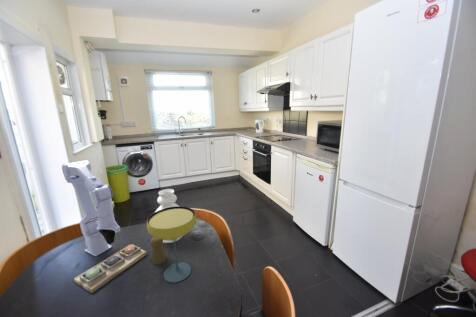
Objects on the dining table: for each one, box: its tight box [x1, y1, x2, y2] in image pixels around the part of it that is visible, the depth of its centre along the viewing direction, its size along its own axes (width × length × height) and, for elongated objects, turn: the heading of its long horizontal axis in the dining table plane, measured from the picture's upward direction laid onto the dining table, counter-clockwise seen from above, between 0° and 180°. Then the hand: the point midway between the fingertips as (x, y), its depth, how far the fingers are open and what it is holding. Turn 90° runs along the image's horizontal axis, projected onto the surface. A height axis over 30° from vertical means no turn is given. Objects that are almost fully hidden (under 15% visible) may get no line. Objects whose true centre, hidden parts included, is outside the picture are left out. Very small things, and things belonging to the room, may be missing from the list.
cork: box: [150, 236, 167, 265], centre depth 92 cm, size 6×6×11 cm
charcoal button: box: [106, 255, 119, 267], centre depth 89 cm, size 4×4×2 cm
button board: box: [73, 243, 148, 294], centre depth 90 cm, size 12×24×3 cm, turn 152°
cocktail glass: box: [146, 205, 197, 284], centre depth 83 cm, size 18×18×25 cm
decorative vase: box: [154, 188, 183, 244], centre depth 109 cm, size 18×18×25 cm
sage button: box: [86, 268, 100, 280], centre depth 83 cm, size 4×4×2 cm
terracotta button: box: [124, 245, 136, 255], centre depth 96 cm, size 4×4×2 cm
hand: (110, 242), depth 91 cm, fingers closed
